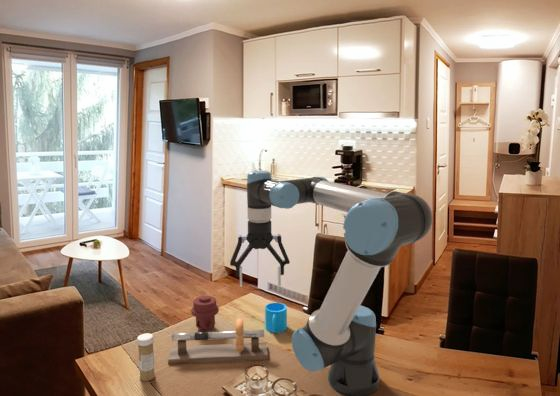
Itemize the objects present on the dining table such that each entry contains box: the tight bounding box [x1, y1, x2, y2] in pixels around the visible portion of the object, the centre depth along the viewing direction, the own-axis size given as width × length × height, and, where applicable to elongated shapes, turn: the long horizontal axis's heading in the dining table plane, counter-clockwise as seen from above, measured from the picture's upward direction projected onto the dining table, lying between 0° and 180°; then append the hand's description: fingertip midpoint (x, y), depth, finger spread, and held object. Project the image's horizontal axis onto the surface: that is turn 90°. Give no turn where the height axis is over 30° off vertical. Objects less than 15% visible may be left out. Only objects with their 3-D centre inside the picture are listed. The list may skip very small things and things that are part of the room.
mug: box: [264, 302, 288, 334], centre depth 161 cm, size 12×8×8 cm
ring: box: [235, 317, 245, 352], centre depth 144 cm, size 8×2×8 cm, turn 5°
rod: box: [171, 329, 265, 342], centre depth 143 cm, size 30×2×2 cm, turn 95°
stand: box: [167, 338, 269, 365], centre depth 144 cm, size 8×32×6 cm, turn 95°
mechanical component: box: [191, 295, 220, 332], centre depth 161 cm, size 12×10×10 cm
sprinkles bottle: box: [136, 332, 156, 382], centre depth 131 cm, size 5×5×13 cm
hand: (260, 285), depth 141 cm, fingers open, 12 cm apart
